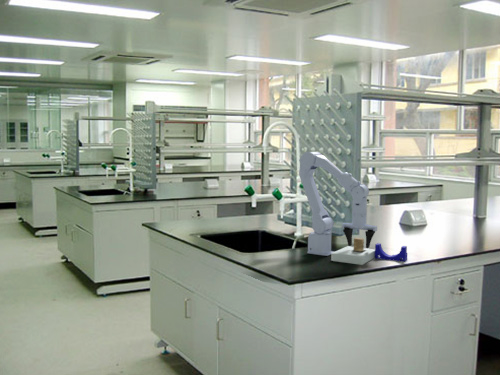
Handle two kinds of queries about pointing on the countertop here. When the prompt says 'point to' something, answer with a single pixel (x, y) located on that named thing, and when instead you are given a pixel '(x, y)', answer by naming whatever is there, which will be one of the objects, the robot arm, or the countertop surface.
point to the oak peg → (358, 245)
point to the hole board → (353, 255)
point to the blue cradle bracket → (399, 257)
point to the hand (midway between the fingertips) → (358, 246)
